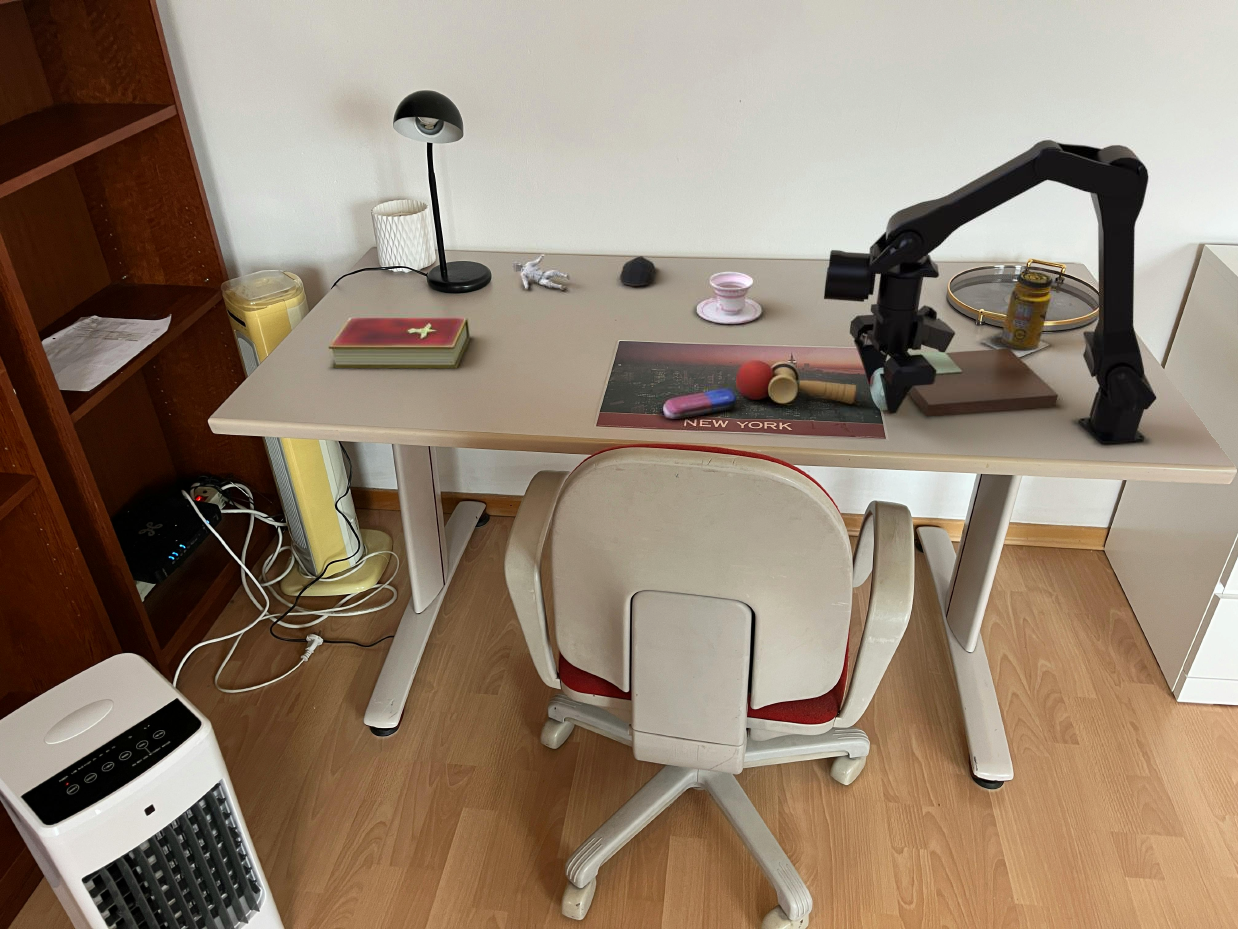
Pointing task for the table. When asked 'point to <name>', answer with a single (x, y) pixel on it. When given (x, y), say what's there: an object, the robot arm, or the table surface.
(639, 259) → the gaming mouse
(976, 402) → the walnut board
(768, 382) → the kendama
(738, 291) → the teacup
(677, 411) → the eraser
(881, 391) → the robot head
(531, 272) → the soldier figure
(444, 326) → the hardcover book
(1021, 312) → the condiment
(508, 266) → the table surface
